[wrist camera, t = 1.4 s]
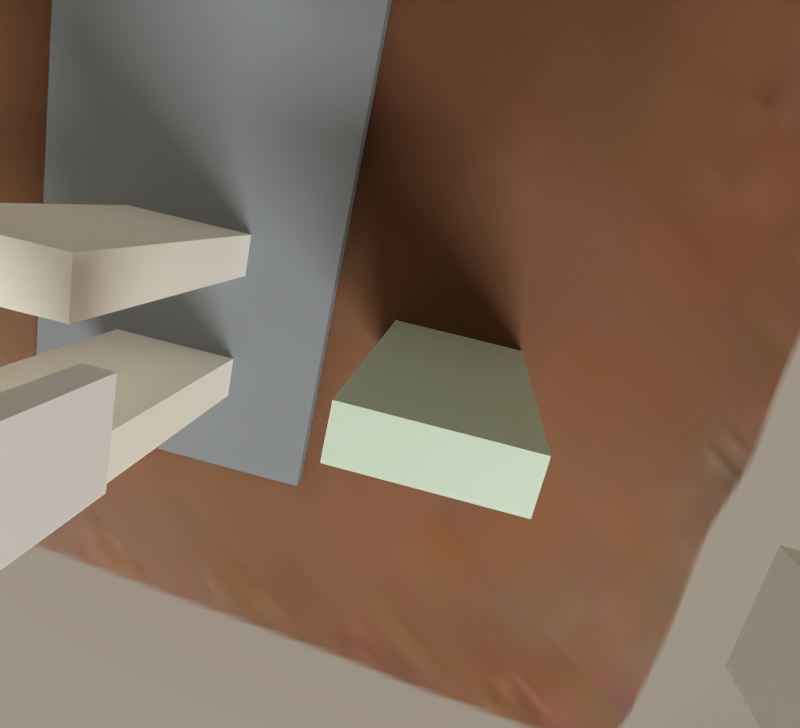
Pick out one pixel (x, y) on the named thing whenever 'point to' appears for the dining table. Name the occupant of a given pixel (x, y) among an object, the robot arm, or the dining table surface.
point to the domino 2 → (138, 386)
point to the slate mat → (223, 183)
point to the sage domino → (442, 420)
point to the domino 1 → (107, 258)
